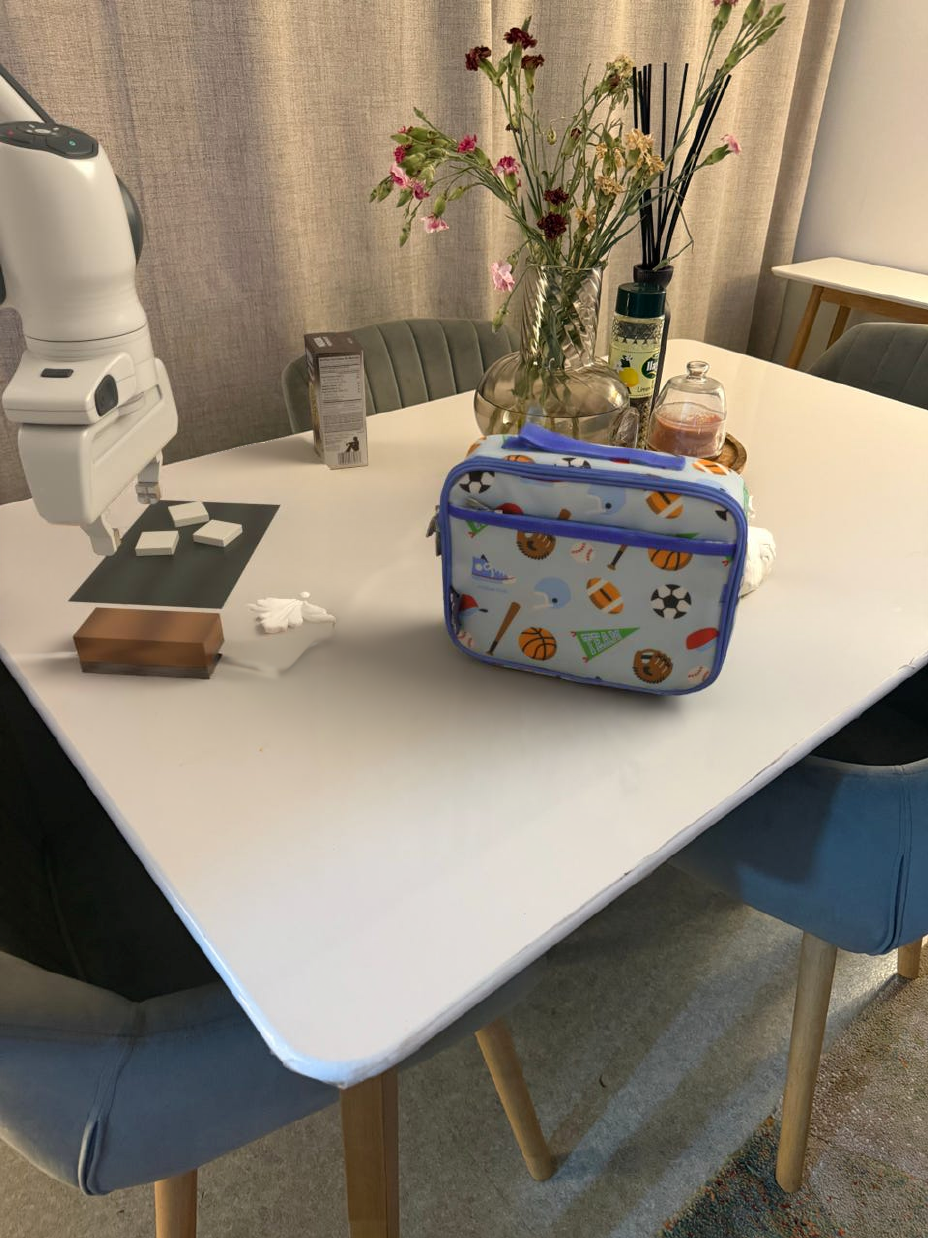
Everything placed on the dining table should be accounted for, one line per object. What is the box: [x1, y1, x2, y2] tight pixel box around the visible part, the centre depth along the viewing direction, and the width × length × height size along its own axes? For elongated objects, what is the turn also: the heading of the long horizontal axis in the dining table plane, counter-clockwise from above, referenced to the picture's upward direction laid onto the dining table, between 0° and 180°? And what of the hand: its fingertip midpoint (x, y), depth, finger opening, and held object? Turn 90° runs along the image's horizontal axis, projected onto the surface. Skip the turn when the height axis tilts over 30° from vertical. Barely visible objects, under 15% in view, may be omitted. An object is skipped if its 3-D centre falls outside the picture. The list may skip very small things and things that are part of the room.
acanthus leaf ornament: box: [246, 591, 337, 635], centre depth 89 cm, size 8×7×2 cm
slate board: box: [67, 499, 281, 610], centre depth 100 cm, size 18×26×1 cm
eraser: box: [72, 606, 225, 680], centre depth 82 cm, size 12×5×4 cm, turn 86°
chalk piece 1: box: [135, 531, 179, 556], centre depth 100 cm, size 4×4×1 cm
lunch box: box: [425, 421, 750, 696], centre depth 78 cm, size 28×10×22 cm, turn 73°
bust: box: [741, 494, 777, 596], centre depth 94 cm, size 12×8×11 cm
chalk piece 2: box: [168, 500, 209, 527], centre depth 106 cm, size 4×4×1 cm
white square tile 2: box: [193, 520, 242, 547], centre depth 102 cm, size 4×4×1 cm
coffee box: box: [303, 331, 369, 470], centre depth 120 cm, size 9×6×16 cm
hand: (131, 525), depth 76 cm, fingers open, 8 cm apart
